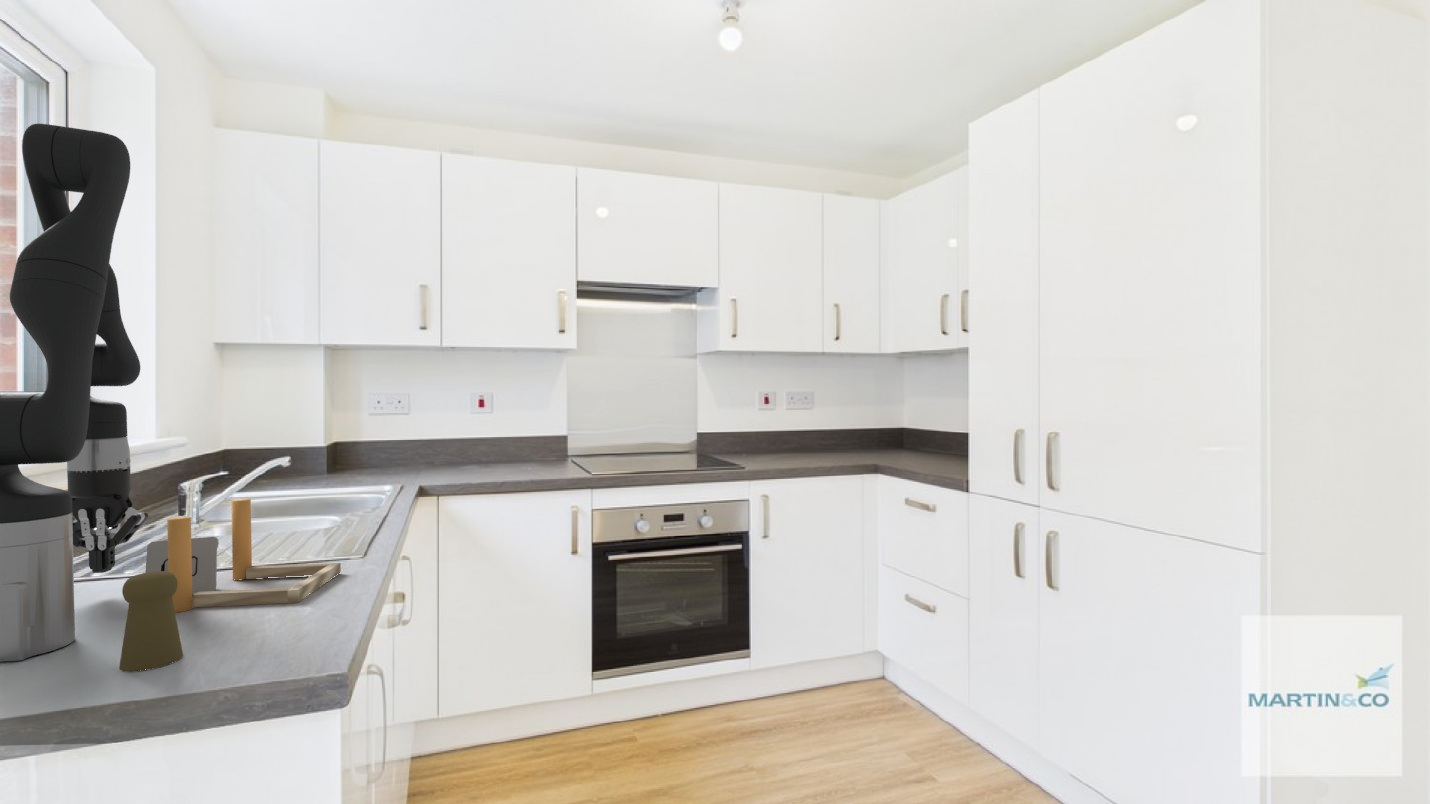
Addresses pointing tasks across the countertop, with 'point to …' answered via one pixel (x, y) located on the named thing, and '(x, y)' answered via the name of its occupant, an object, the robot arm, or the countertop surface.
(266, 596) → the wooden square frame
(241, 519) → the post right
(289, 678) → the countertop surface
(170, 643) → the cork
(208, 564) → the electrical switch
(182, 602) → the post left
